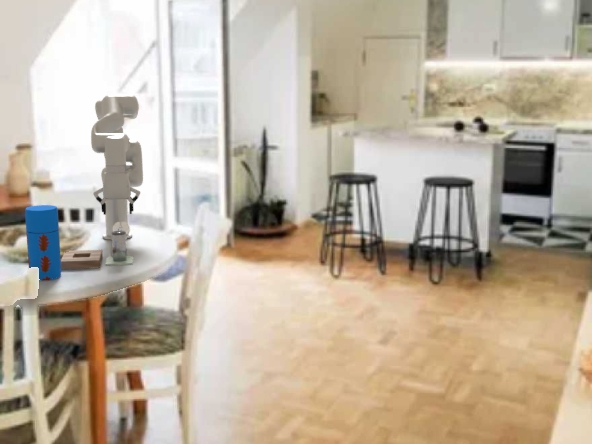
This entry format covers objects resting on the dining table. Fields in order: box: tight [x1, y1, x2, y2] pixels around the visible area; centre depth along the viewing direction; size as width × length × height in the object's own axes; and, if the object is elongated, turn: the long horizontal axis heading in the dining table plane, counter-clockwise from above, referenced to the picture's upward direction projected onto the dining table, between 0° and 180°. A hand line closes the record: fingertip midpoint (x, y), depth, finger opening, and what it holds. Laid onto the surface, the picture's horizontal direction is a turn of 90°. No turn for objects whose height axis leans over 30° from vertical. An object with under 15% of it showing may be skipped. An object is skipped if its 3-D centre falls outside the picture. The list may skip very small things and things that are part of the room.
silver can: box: [111, 231, 128, 262], centre depth 280 cm, size 5×5×11 cm
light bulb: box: [113, 221, 131, 241], centre depth 299 cm, size 7×7×12 cm
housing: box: [61, 249, 104, 270], centre depth 279 cm, size 16×14×3 cm
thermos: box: [24, 204, 62, 282], centre depth 258 cm, size 11×11×25 cm
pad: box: [105, 255, 134, 266], centre depth 282 cm, size 10×10×1 cm
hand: (117, 213), depth 278 cm, fingers open, 9 cm apart
